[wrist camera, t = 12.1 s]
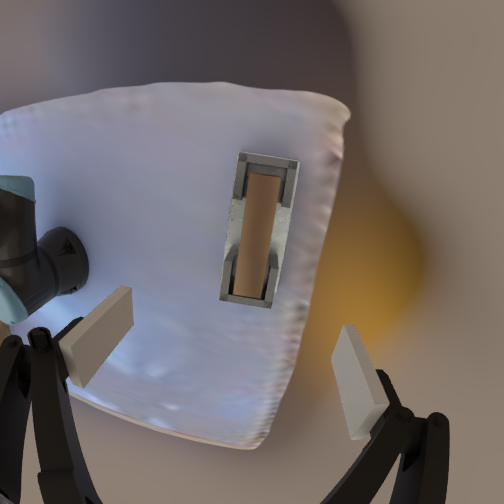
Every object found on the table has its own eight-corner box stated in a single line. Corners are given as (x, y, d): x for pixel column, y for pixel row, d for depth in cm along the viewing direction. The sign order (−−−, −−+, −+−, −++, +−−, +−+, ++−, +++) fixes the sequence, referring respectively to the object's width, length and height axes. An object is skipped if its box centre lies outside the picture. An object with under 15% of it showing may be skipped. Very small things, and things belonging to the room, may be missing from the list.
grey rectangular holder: (221, 281, 49) (212, 301, 42) (239, 151, 42) (232, 147, 35) (276, 290, 49) (276, 312, 41) (299, 161, 42) (305, 159, 35)
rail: (237, 278, 44) (233, 294, 39) (252, 172, 39) (249, 173, 34) (262, 282, 44) (260, 298, 39) (279, 176, 39) (281, 177, 34)
